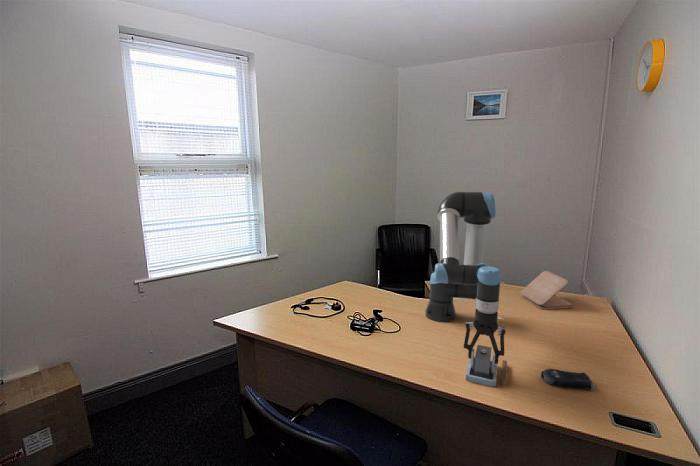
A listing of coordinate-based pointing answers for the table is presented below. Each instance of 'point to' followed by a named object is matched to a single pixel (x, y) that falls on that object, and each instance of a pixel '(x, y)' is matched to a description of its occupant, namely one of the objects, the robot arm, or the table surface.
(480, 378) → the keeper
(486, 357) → the grey block with knob
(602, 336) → the table surface
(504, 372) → the door edge strip
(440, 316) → the robot arm
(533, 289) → the case
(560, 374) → the electronic device
